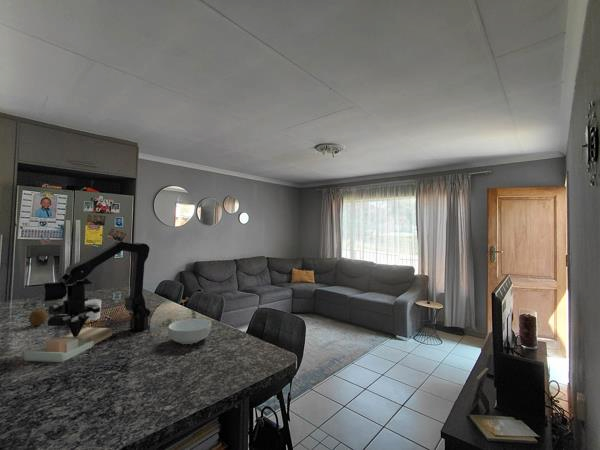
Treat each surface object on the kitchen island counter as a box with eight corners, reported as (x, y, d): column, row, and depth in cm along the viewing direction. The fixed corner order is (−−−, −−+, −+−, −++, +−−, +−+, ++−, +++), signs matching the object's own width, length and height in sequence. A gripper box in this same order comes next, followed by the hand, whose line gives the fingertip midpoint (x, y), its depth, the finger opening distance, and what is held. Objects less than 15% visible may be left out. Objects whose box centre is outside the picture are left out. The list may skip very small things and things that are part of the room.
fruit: (25, 327, 134) (26, 309, 134) (41, 323, 139) (42, 306, 140) (33, 329, 131) (33, 311, 131) (49, 324, 137) (50, 308, 137)
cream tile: (78, 346, 112) (78, 338, 112) (66, 352, 107) (67, 343, 107) (65, 346, 112) (66, 338, 112) (54, 351, 107) (54, 343, 107)
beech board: (111, 335, 125) (112, 328, 125) (91, 345, 114) (91, 338, 114) (85, 334, 126) (85, 327, 126) (62, 344, 115) (62, 337, 115)
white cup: (90, 324, 139) (91, 303, 139) (77, 323, 140) (77, 302, 140) (104, 319, 146) (105, 299, 146) (91, 318, 148) (92, 298, 148)
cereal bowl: (219, 337, 124) (219, 321, 125) (189, 352, 109) (190, 333, 109) (190, 331, 132) (190, 315, 132) (158, 344, 116) (158, 326, 117)
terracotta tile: (66, 338, 107) (59, 341, 104) (65, 352, 107) (58, 355, 104) (53, 337, 107) (45, 341, 104) (53, 351, 107) (45, 355, 104)
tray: (93, 346, 114) (93, 338, 114) (61, 362, 100) (62, 353, 100) (59, 344, 115) (60, 336, 115) (24, 360, 101) (24, 351, 101)
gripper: (76, 291, 123) (75, 327, 123) (33, 302, 105) (32, 345, 105) (101, 291, 123) (100, 328, 123) (62, 303, 104) (62, 346, 104)
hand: (75, 336), depth 113 cm, fingers closed
